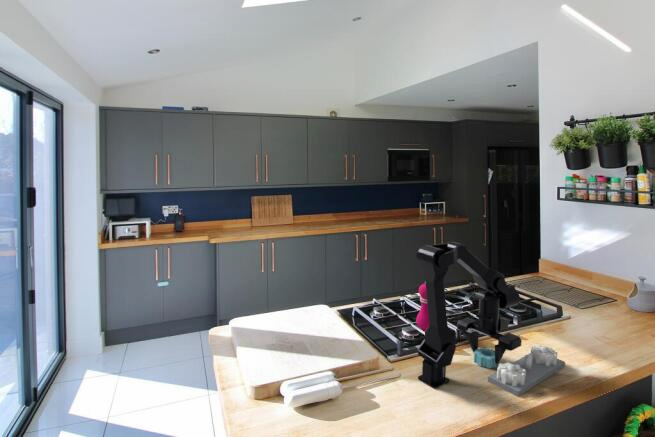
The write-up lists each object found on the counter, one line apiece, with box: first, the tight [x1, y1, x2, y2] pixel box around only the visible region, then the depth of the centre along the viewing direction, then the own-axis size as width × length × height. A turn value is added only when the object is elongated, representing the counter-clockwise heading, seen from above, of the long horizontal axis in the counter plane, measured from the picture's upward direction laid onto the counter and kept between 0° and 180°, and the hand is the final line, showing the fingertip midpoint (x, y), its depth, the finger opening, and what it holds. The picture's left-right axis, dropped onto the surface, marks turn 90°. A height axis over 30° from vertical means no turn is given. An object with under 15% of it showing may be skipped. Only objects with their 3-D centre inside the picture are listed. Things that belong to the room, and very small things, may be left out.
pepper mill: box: [415, 282, 429, 331], centre depth 144 cm, size 7×7×20 cm
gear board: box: [487, 344, 566, 397], centre depth 118 cm, size 26×9×6 cm, turn 125°
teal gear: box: [473, 347, 499, 369], centre depth 124 cm, size 7×7×3 cm
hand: (486, 358), depth 125 cm, fingers closed on teal gear, 7 cm apart
